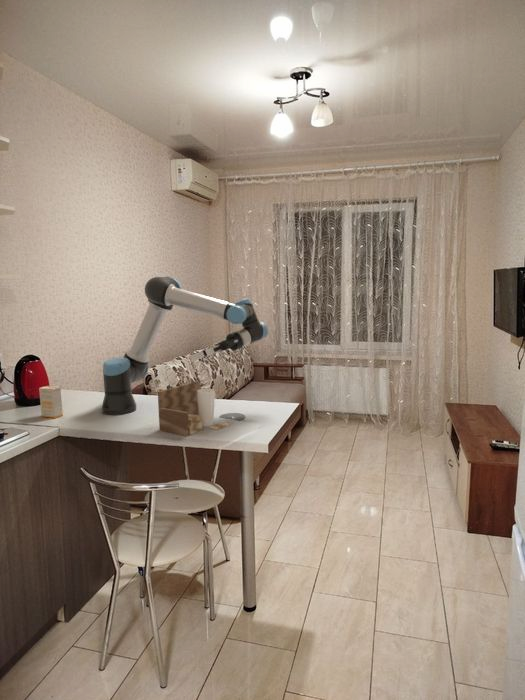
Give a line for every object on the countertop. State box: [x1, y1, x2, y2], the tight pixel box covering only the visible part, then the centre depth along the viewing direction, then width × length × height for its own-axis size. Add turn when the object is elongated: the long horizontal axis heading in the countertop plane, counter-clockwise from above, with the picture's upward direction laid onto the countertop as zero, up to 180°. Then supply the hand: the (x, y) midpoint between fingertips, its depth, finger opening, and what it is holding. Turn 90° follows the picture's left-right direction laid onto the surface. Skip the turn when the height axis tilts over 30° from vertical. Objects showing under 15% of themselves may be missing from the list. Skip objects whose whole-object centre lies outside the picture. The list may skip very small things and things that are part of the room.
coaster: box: [218, 412, 246, 422], centre depth 202 cm, size 11×11×1 cm
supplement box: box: [38, 385, 64, 419], centre depth 208 cm, size 8×5×13 cm, turn 65°
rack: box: [157, 380, 204, 437], centre depth 188 cm, size 24×15×16 cm, turn 148°
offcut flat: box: [208, 422, 231, 431], centre depth 186 cm, size 8×4×2 cm, turn 140°
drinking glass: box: [197, 388, 215, 427], centre depth 189 cm, size 7×7×15 cm
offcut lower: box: [189, 422, 203, 436], centre depth 181 cm, size 7×6×3 cm
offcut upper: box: [188, 414, 200, 426], centre depth 180 cm, size 6×5×2 cm
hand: (198, 356), depth 193 cm, fingers open, 13 cm apart
